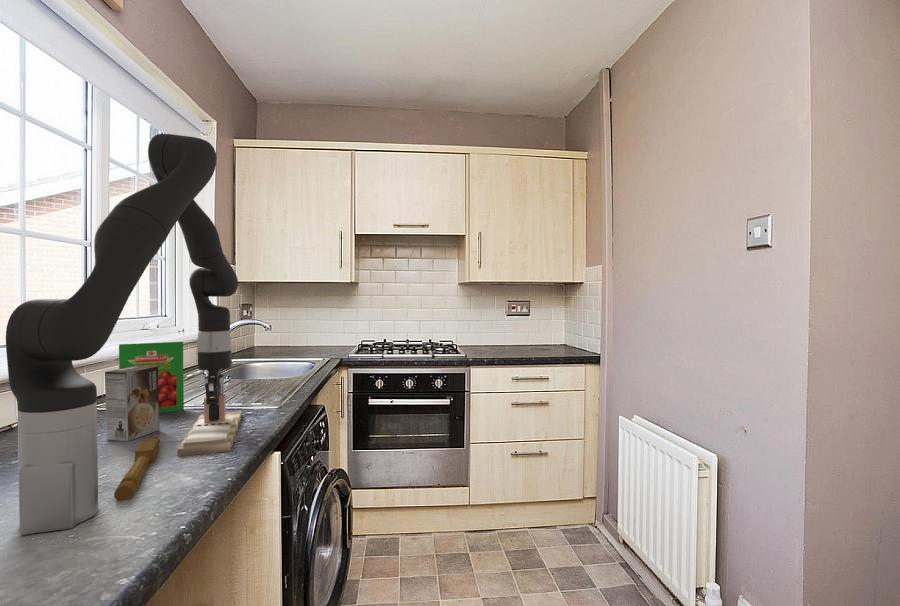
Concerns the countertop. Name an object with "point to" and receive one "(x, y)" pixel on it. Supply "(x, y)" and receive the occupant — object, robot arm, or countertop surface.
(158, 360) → the tomato puree packet
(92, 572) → the countertop surface
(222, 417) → the stub
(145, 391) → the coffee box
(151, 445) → the tap handle
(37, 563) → the countertop surface
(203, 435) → the board
